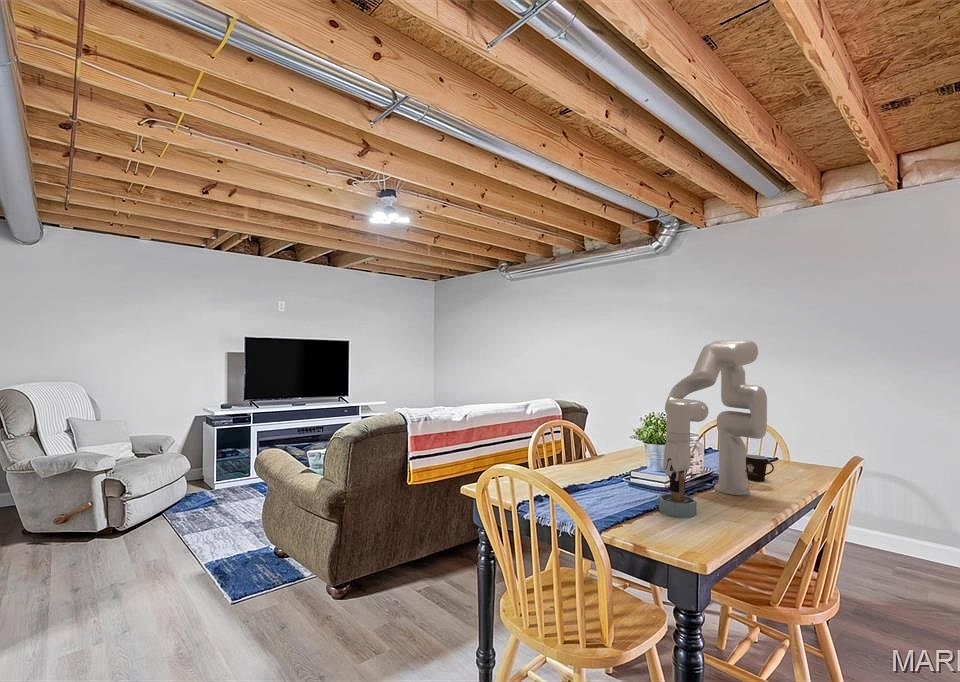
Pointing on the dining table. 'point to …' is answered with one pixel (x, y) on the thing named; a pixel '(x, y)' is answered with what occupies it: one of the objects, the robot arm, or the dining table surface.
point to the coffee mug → (757, 467)
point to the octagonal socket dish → (677, 506)
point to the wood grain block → (679, 496)
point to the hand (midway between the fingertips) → (677, 490)
